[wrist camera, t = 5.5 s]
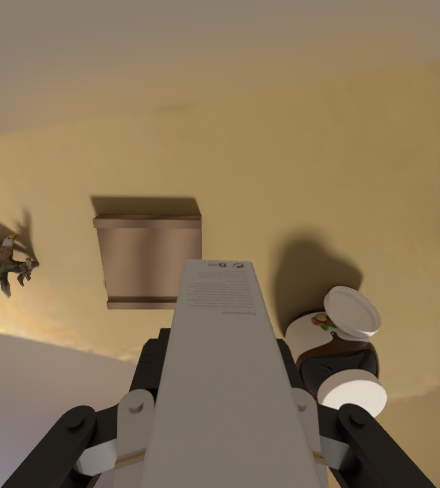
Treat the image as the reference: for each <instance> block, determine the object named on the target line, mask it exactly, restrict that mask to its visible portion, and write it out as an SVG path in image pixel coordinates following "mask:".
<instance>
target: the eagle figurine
mask: <svg viewBox="0 0 440 488" xmlns="http://www.w3.org/2000/svg"><path fill="white" fill-rule="evenodd" d="M15 236H16V234H12V235H10V236H8V237H6V239H5V240H4V242H3V244H2V246H1V247H0V285H1V290H2V291H3V293H4V294H5V296H6V297H7V298H10V296H11V292H10V284H9V282H8V280H7V279H8V278H7V276H8V272H15V273H18V274H20V275H19V276H18V278H17V280H18V281H19V283H20V285H21V286H24V284H23V279H24V277H25V276H26V275H27V276H26V278H27V280H28V281H29V280H30V279H31V277H30V275H31V271H32V269H33V268H35V267H38V266H39V264H38V263H36V262H34V261H31V258H26V262H19V261H15V260H13V259H12V257H13V242H14V238H15Z"/></svg>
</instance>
